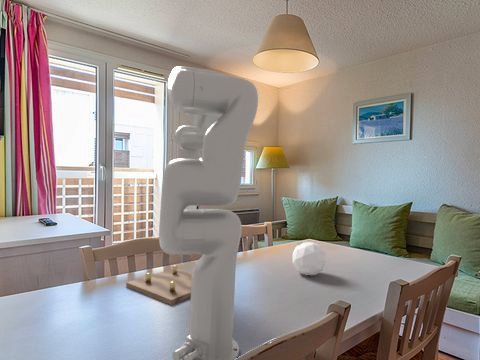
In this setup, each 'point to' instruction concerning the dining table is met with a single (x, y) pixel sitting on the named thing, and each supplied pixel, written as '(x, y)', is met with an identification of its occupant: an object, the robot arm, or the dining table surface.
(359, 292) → the dining table surface
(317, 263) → the geodesic sphere
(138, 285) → the walnut board
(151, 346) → the dining table surface
